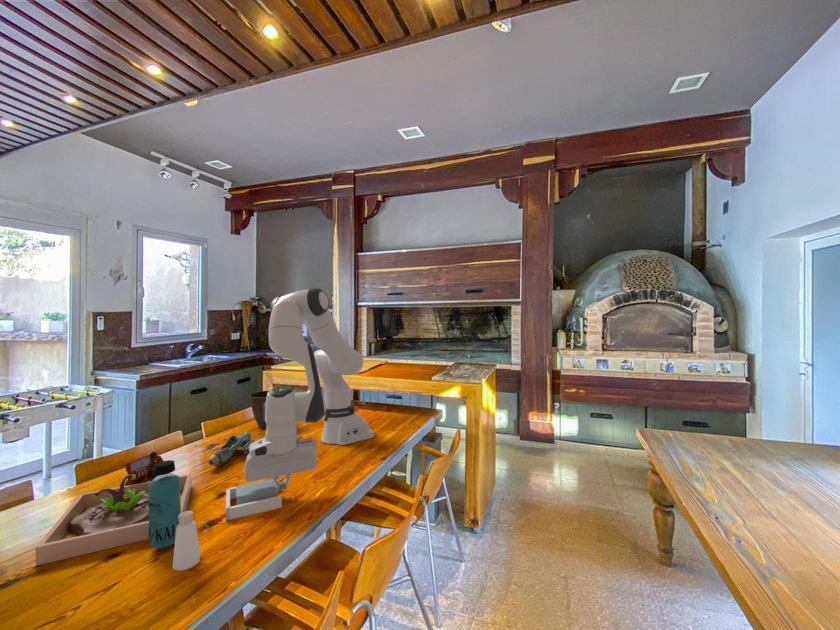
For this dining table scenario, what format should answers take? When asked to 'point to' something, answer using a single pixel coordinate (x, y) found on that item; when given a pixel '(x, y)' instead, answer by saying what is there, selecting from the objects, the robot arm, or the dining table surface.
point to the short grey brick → (256, 491)
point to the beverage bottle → (164, 505)
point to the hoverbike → (231, 449)
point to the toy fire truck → (143, 468)
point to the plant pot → (258, 407)
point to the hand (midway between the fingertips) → (282, 488)
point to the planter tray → (71, 547)
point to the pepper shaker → (186, 543)
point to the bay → (249, 505)
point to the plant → (113, 511)
